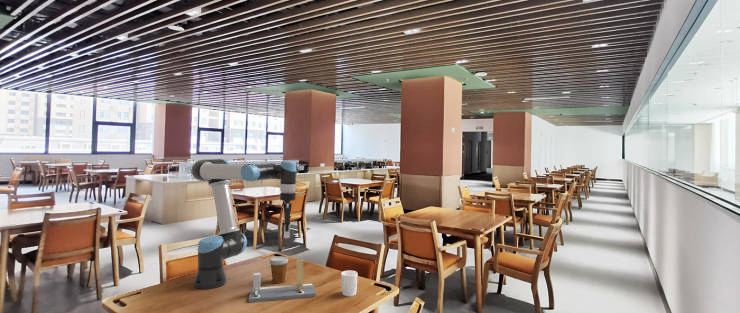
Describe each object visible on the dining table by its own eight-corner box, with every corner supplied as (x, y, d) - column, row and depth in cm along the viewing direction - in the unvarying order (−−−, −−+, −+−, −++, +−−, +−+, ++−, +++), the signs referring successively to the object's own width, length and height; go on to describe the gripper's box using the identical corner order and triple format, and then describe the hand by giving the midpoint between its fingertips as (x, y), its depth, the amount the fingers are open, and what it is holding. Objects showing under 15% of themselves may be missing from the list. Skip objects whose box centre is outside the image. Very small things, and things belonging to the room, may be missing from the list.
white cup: (344, 298, 167) (345, 276, 167) (338, 292, 174) (338, 271, 174) (360, 295, 170) (360, 274, 170) (353, 289, 177) (353, 269, 177)
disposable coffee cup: (290, 278, 192) (290, 256, 192) (284, 285, 182) (284, 261, 182) (273, 277, 193) (273, 255, 193) (266, 284, 183) (266, 260, 183)
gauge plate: (248, 302, 161) (248, 280, 161) (250, 292, 173) (250, 271, 173) (315, 296, 168) (315, 275, 168) (313, 287, 180) (313, 267, 180)
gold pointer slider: (297, 292, 168) (297, 264, 168) (296, 286, 176) (296, 259, 175) (303, 291, 169) (303, 263, 169) (302, 285, 176) (302, 259, 176)
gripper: (296, 195, 168) (294, 240, 168) (294, 189, 192) (293, 228, 192) (279, 195, 166) (278, 241, 166) (280, 189, 190) (279, 228, 191)
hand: (286, 234), depth 179 cm, fingers open, 13 cm apart
